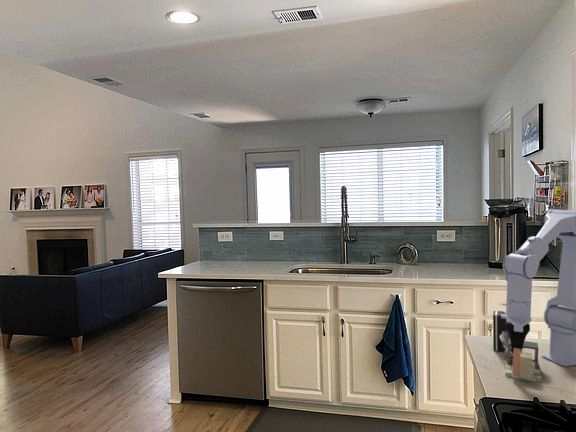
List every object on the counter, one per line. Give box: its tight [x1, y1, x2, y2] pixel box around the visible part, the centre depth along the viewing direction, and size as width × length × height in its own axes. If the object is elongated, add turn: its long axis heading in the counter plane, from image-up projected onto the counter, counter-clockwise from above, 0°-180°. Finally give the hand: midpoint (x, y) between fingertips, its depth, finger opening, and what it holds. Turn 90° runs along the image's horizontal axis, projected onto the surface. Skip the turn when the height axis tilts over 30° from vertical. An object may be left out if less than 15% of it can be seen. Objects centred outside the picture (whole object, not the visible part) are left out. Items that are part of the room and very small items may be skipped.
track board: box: [504, 354, 542, 383], centre depth 125 cm, size 14×8×1 cm, turn 154°
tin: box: [500, 320, 513, 352], centre depth 143 cm, size 15×3×8 cm, turn 169°
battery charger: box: [492, 310, 507, 352], centre depth 141 cm, size 7×4×11 cm, turn 155°
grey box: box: [507, 339, 539, 369], centre depth 126 cm, size 4×7×6 cm, turn 64°
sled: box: [511, 347, 536, 382], centre depth 119 cm, size 8×5×8 cm
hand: (516, 351), depth 118 cm, fingers closed
